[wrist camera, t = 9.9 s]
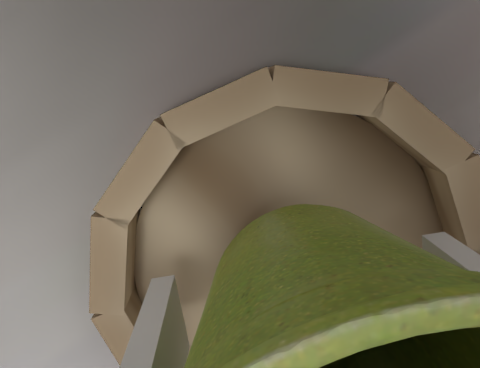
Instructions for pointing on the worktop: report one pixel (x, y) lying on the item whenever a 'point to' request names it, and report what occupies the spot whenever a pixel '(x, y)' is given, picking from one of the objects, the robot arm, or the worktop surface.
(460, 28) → the worktop surface
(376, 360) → the plant pot
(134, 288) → the round wooden tray
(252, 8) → the worktop surface
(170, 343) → the robot arm
